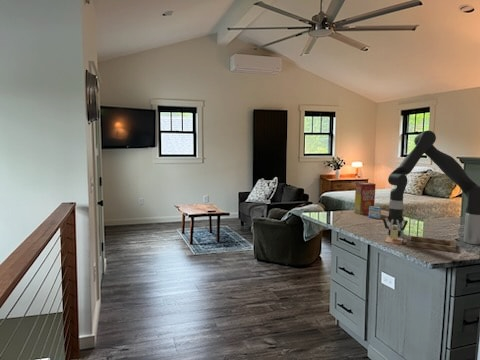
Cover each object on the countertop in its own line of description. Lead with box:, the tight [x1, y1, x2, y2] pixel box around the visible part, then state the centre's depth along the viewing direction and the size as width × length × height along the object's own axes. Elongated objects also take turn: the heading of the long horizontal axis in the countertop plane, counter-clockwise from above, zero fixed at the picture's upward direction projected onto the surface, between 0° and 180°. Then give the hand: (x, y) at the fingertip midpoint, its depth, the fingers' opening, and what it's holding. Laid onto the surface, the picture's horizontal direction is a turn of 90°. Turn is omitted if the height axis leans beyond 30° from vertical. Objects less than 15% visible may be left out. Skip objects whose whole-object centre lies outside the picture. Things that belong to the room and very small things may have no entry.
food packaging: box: [353, 182, 376, 216], centre depth 295 cm, size 13×9×25 cm
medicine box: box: [368, 206, 382, 220], centre depth 278 cm, size 8×4×9 cm, turn 47°
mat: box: [384, 236, 404, 245], centre depth 212 cm, size 9×12×1 cm
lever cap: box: [389, 225, 399, 239], centre depth 212 cm, size 4×7×6 cm, turn 152°
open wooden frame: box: [406, 235, 457, 253], centre depth 203 cm, size 24×15×2 cm, turn 62°
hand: (394, 236), depth 212 cm, fingers closed on lever cap, 4 cm apart
